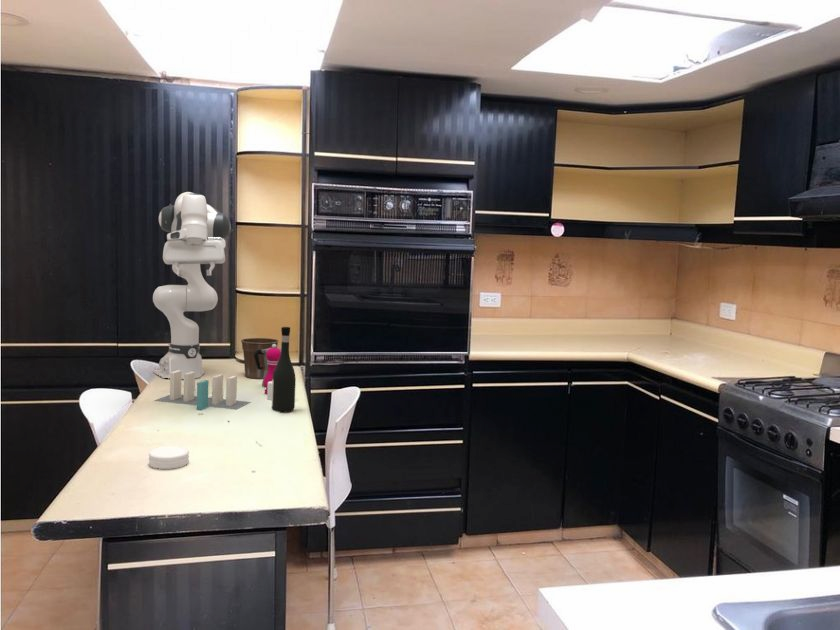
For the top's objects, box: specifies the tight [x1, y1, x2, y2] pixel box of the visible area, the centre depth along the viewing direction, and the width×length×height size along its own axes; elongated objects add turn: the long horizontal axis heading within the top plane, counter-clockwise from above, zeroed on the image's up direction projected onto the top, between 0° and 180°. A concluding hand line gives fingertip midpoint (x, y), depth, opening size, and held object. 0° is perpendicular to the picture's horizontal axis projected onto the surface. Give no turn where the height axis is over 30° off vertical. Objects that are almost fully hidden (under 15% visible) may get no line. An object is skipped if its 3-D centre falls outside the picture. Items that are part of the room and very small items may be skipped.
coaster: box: [148, 445, 190, 470], centre depth 178 cm, size 10×10×4 cm
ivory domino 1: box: [169, 370, 182, 400], centre depth 245 cm, size 2×5×10 cm, turn 169°
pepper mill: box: [263, 344, 281, 395], centre depth 261 cm, size 7×7×20 cm
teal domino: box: [196, 379, 210, 411], centre depth 233 cm, size 2×5×10 cm, turn 169°
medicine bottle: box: [266, 370, 275, 402], centre depth 252 cm, size 7×7×12 cm
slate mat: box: [153, 394, 251, 411], centre depth 243 cm, size 32×12×1 cm, turn 79°
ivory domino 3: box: [211, 373, 224, 405], centre depth 242 cm, size 2×5×10 cm, turn 169°
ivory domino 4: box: [225, 375, 238, 406], centre depth 241 cm, size 2×5×10 cm, turn 169°
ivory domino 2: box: [182, 372, 196, 402], centre depth 244 cm, size 2×5×10 cm, turn 170°
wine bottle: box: [271, 326, 297, 413], centre depth 237 cm, size 8×8×30 cm
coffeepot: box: [254, 343, 281, 388], centre depth 275 cm, size 15×9×18 cm, turn 129°
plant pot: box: [240, 337, 280, 380], centre depth 293 cm, size 16×16×16 cm
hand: (194, 275), depth 227 cm, fingers open, 8 cm apart
